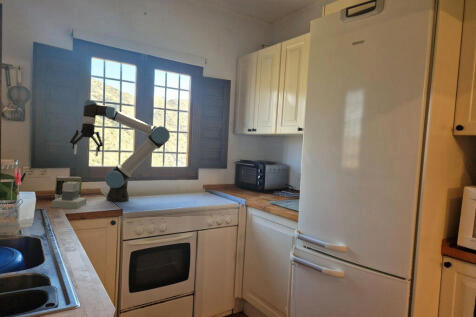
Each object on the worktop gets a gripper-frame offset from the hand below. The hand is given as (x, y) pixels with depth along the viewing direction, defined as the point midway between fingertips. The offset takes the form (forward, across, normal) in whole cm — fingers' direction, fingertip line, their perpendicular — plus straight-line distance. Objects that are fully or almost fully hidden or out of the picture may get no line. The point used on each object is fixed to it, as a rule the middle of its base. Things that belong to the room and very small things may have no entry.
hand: (85, 155), depth 201 cm
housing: (+27, +1, +18) cm, 32 cm away
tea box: (+31, +11, -6) cm, 33 cm away
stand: (+31, +1, +18) cm, 36 cm away
